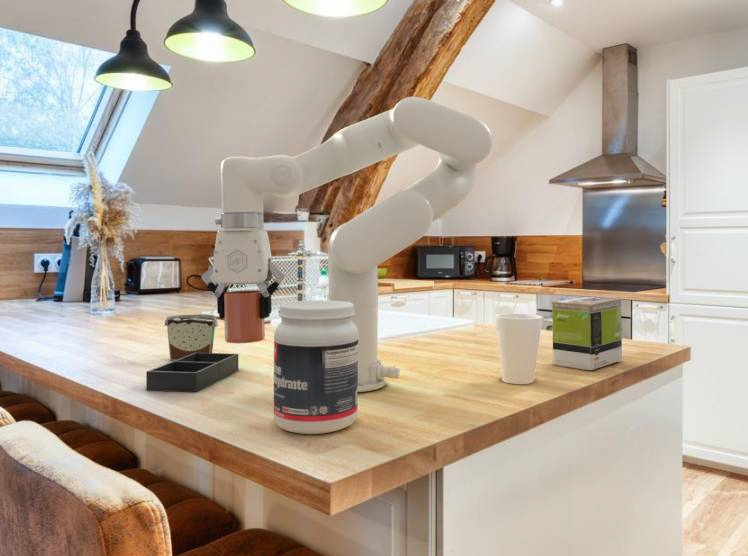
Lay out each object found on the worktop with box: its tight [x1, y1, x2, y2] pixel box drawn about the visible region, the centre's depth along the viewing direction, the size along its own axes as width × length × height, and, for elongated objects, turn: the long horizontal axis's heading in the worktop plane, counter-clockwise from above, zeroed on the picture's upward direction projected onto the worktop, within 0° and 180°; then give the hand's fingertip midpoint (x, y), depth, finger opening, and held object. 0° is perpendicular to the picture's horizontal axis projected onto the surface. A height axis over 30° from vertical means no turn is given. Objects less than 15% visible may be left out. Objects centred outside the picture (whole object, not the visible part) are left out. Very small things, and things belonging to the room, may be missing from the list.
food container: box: [164, 314, 219, 362], centre depth 144 cm, size 12×6×10 cm, turn 84°
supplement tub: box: [272, 299, 359, 435], centre depth 94 cm, size 13×13×18 cm
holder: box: [145, 352, 239, 393], centre depth 123 cm, size 19×10×4 cm, turn 173°
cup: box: [223, 289, 266, 344], centre depth 116 cm, size 7×7×9 cm
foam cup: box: [494, 312, 543, 385], centre depth 124 cm, size 10×9×13 cm
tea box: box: [551, 296, 623, 371], centre depth 142 cm, size 15×10×15 cm, turn 136°
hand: (244, 317), depth 116 cm, fingers closed on cup, 7 cm apart
